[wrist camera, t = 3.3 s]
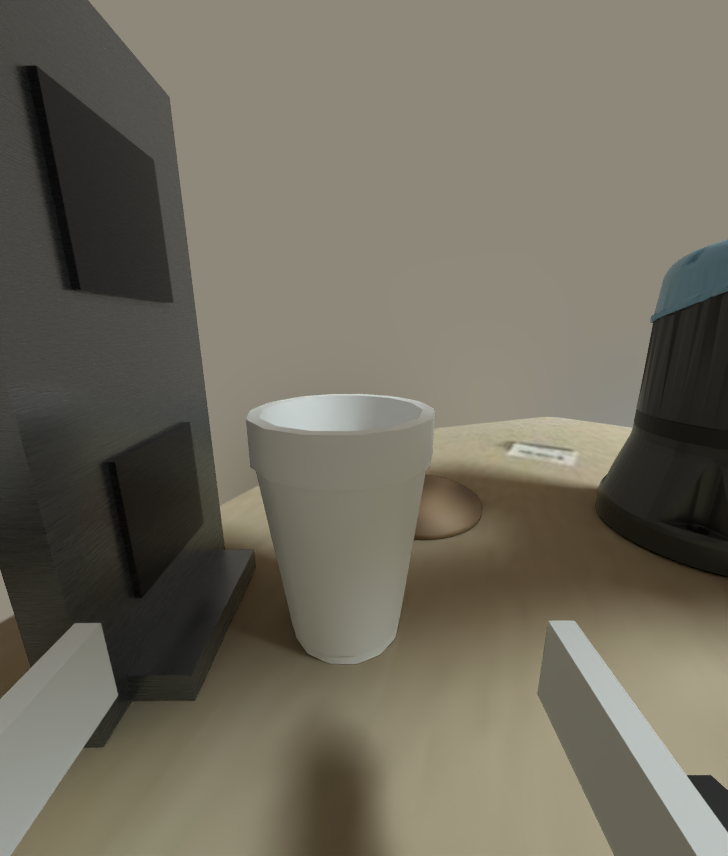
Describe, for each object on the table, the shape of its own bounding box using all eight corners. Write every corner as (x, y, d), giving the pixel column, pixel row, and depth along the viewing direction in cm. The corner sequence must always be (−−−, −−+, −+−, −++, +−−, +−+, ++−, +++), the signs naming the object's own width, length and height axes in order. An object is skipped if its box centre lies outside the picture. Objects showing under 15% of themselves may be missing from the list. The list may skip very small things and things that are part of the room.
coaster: (461, 477, 43) (462, 473, 43) (501, 539, 30) (502, 532, 30) (351, 478, 43) (351, 473, 43) (345, 540, 30) (345, 533, 30)
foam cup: (414, 715, 17) (424, 442, 13) (234, 671, 19) (203, 428, 15) (430, 580, 25) (438, 396, 22) (306, 561, 28) (297, 391, 24)
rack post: (262, 551, 29) (221, 96, 21) (173, 746, 15) (-36, -322, 8) (199, 551, 29) (134, 97, 21) (55, 746, 15) (-277, -319, 8)
